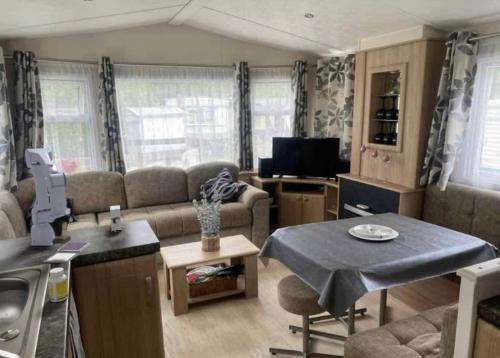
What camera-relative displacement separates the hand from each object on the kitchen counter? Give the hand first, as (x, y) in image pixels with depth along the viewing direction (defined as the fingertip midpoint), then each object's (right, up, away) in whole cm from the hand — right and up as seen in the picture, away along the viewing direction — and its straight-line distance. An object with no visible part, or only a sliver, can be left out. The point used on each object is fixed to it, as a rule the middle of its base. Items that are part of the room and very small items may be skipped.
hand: (61, 234), depth 153 cm
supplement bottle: (+16, -16, -33) cm, 40 cm away
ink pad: (0, -8, +11) cm, 14 cm away
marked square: (0, -10, +1) cm, 10 cm away
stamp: (0, -3, +1) cm, 3 cm away
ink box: (+9, -4, +40) cm, 41 cm away
